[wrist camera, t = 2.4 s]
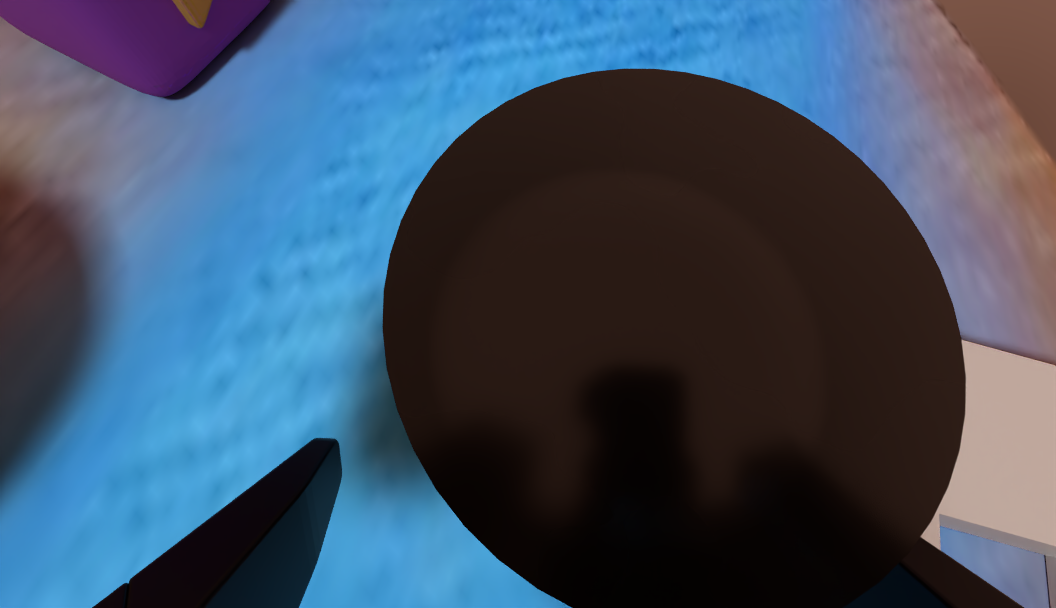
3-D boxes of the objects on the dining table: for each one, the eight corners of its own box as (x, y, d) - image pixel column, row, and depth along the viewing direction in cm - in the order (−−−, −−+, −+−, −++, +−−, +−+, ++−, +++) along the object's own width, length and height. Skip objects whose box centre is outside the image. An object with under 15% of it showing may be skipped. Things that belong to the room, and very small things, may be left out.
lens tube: (587, 516, 18) (985, 731, 3) (448, 477, 18) (276, 527, 4) (615, 378, 19) (952, 142, 5) (489, 342, 19) (483, 16, 5)
